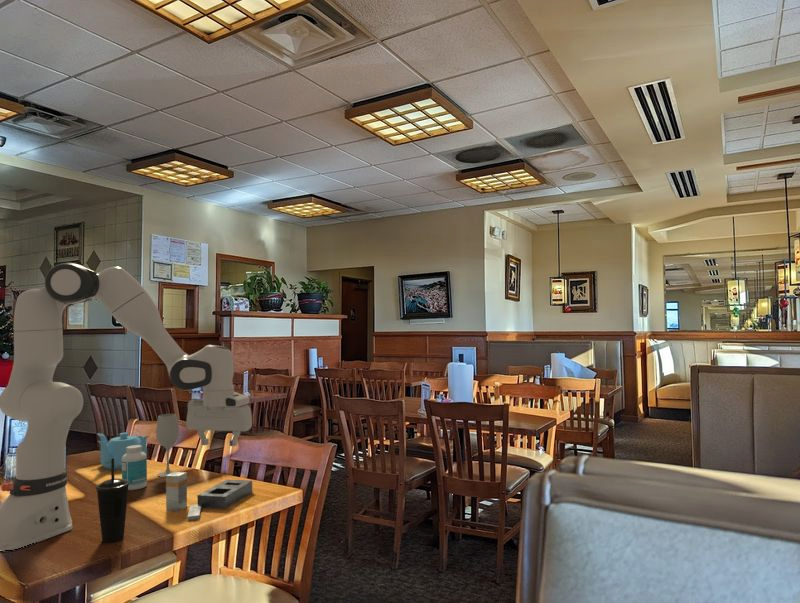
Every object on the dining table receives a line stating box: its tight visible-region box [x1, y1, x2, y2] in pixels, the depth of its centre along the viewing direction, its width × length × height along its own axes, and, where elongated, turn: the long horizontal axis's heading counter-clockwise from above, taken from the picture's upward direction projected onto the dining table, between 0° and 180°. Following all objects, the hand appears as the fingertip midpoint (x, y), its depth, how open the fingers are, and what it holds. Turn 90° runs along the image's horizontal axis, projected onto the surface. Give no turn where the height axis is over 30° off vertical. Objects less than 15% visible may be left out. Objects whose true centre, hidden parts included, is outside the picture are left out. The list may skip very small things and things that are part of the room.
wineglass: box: [155, 413, 180, 478], centre depth 199 cm, size 8×8×21 cm
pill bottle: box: [121, 445, 148, 491], centre depth 184 cm, size 8×7×14 cm
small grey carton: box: [165, 471, 188, 512], centre depth 162 cm, size 4×4×10 cm
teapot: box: [97, 432, 150, 471], centre depth 213 cm, size 17×19×12 cm
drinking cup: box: [95, 459, 130, 544], centre depth 140 cm, size 8×8×20 cm
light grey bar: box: [187, 503, 202, 522], centre depth 157 cm, size 10×3×2 cm, turn 16°
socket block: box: [197, 479, 253, 510], centre depth 169 cm, size 16×9×4 cm, turn 167°
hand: (219, 445), depth 166 cm, fingers open, 8 cm apart
